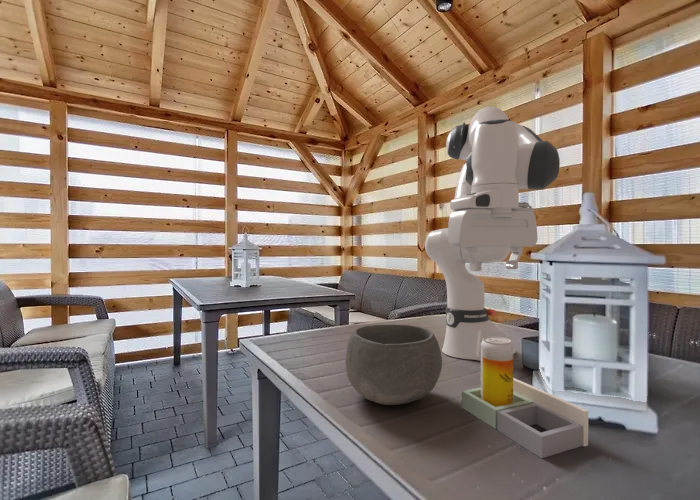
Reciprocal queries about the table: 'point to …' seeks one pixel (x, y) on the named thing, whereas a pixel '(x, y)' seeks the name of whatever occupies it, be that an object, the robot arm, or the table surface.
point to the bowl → (393, 362)
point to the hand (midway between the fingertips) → (494, 269)
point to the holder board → (533, 419)
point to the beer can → (497, 371)
